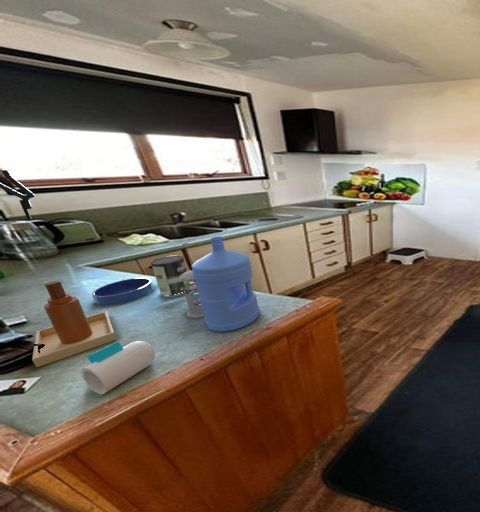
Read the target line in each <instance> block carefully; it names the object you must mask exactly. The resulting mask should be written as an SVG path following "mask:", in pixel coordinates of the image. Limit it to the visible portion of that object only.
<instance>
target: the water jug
mask: <svg viewBox="0 0 480 512" xmlns="http://www.w3.org/2000/svg"><path fill="white" fill-rule="evenodd" d="M209 240H210V242H211V243H210V245H211V248H212V251H211V252H209V253H208V254H206V255H204V256H203V257H201V258H199V259H197V260H196V261H194V262H193V263H192V266H191V270H193V276H194V279H195V280H194V281H195V283H196V285H197V289H198V290H197V291H198V292H197V294H199V300H200V302H201V305H202V308H203V312H204V315H205V316H204V321H205V322H204V323H205V326H206V327H207V328H208V329H209V330H210V331H213V332H231V331H236V330H239V329H242V328H244V327H246V326H248V325H250V324H252V323H253V322H254V321H256V319H257V318H258V317H259V315H260V307H259V304H258V299H257V294H256V292H254V290H253V285H252V277H253V272H252V264H251V261H250V257H249V255H248V254H246V253H243V252H239V251H233V250H228V249H226V247H225V243H224V241H223V236H214V237H210V238H209Z"/></svg>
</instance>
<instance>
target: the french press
mask: <svg viewBox="0 0 480 512" xmlns="http://www.w3.org/2000/svg"><path fill="white" fill-rule="evenodd" d="M190 246H191V244H190V243H189V242H184V243H182V248H186V252H187V254H188V259H189V263H190V265H191V267H192V265H193V263H192V260H191V256H190V253H189V249H188V247H190ZM180 279H181V280H184V281H195V279H194V276H193V270H192V269H191V270H187V272H185V273H184V274H182V275H181V276H180ZM184 289H185V290H186V291H185V292H184V297H185V301H186V305H187V307H188V311H187V313H186V316H187V317H188V318H191V319H197V318H203V317H205V315H204V312H203V308H202V305H199V304H201V302H200V299H199V293H198V289H197V285H196V282H191V283H190V284H189V285H187V286H186V287H185V288H184Z"/></svg>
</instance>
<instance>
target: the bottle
mask: <svg viewBox="0 0 480 512" xmlns="http://www.w3.org/2000/svg"><path fill="white" fill-rule="evenodd" d="M44 286H45V288H46V290H47V293H48V295H49V298H47V300H46V301H47V303H46V304H44V305H43V308H44V311H45V313H46V314H47V316H48V318H49V321H50V323H51V325H52V327H54V329H55V331H56V333H57V335H58V337H59V339H60V341H61V343H62V344H72V343H76V342H79V341H81V340H84V339H86V338H88V337H89V336H91V335H92V330H91V328H90V326H89V323H88V321H87V319H86V317H87V316H86V314H85V312H84V310H83V307H82V305H81V303H80V300H79V298H78V296H72V295H71V293H66V291H65V289H64V287H63V285H62V283H61V280H53V281H49V282H46V283H44Z"/></svg>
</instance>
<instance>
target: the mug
mask: <svg viewBox="0 0 480 512" xmlns="http://www.w3.org/2000/svg"><path fill="white" fill-rule="evenodd" d="M155 357H156V350H155V348H154V346H153V345H152V344H150V343H149V342H147V341H144V340H136V341H132V342H130V343H128V344H126V345H125V346H122V345H121V343H120V342H119V341H116V342H113V343H110V344H109V345H107V346H105V347H103V348H101V349H99V350H97V351H94V352H93V353H91V354H88V355H86V358H87V359H88V361H89V362H90V364H88V365H87V366H85V367H83V368H82V369H81V372H80V373H81V377H82V379H83V381H84V382H85V384H86V385H87V386H88V387H89V388H90V389H91V391H92V392H94V393H96V394H98V395H105V394H106V393H108V392H109V391H111V390H113V389H114V388H115V387H117V386H118V385H121V384H122V383H124V382H125V381H127V380H128V379H130V378H131V377H133V376H135V375H136V374H138V373H139V372H141V371H142V370H144V369H146V368H147V367H150V365H152V363H153V362H154V360H155Z"/></svg>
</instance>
